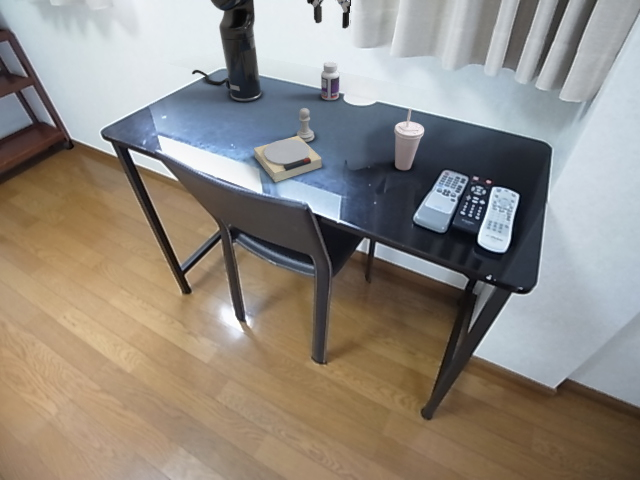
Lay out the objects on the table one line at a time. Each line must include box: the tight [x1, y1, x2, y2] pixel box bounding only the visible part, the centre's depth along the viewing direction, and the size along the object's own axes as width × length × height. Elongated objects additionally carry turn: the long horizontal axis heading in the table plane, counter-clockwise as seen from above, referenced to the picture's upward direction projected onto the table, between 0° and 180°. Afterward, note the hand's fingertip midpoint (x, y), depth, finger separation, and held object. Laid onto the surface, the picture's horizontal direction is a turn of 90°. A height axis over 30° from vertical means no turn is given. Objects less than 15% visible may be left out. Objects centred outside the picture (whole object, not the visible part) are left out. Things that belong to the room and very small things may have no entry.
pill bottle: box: [320, 61, 340, 101], centre depth 111 cm, size 5×5×10 cm
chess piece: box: [296, 107, 315, 143], centre depth 95 cm, size 5×5×8 cm
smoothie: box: [393, 107, 425, 171], centre depth 83 cm, size 6×6×14 cm
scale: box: [253, 135, 323, 183], centre depth 88 cm, size 12×12×3 cm
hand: (331, 25), depth 100 cm, fingers open, 8 cm apart
